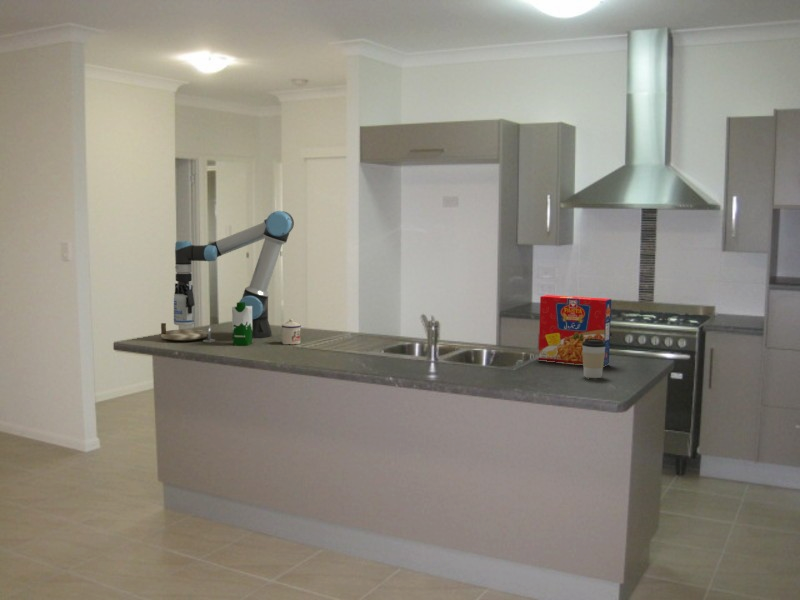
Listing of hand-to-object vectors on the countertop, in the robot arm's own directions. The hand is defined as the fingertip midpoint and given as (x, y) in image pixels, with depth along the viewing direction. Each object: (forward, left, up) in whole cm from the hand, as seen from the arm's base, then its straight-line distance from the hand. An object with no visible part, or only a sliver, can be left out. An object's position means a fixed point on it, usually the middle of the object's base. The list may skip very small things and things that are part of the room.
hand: (184, 319), depth 396 cm
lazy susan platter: (0, 0, -8) cm, 8 cm away
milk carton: (-33, -1, -10) cm, 35 cm away
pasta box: (-184, -24, -10) cm, 186 cm away
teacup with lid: (-52, -15, -10) cm, 55 cm away
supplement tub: (0, 0, -3) cm, 3 cm away
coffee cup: (-197, +2, -10) cm, 197 cm away
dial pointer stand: (-14, 0, -10) cm, 17 cm away
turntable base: (0, 0, -10) cm, 10 cm away
